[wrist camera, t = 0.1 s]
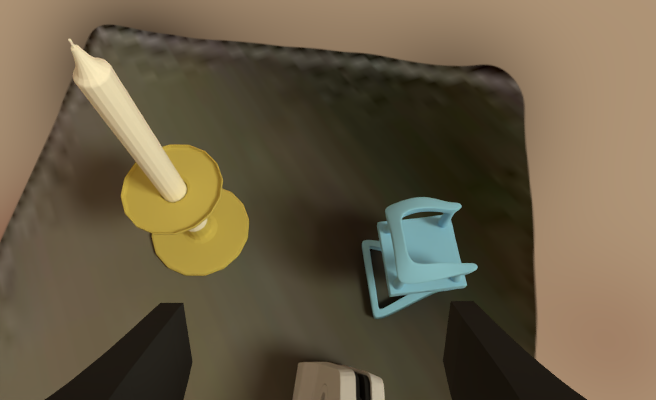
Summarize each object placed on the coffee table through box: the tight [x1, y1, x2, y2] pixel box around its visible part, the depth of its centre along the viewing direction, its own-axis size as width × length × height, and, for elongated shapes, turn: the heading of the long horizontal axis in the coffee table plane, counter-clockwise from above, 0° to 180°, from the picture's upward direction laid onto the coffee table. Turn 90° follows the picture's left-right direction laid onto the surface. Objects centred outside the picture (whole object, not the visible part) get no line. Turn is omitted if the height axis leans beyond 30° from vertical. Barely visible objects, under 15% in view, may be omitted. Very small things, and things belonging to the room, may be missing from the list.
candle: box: [68, 39, 249, 276], centre depth 36 cm, size 10×10×27 cm
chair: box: [362, 197, 477, 319], centre depth 41 cm, size 8×8×12 cm
